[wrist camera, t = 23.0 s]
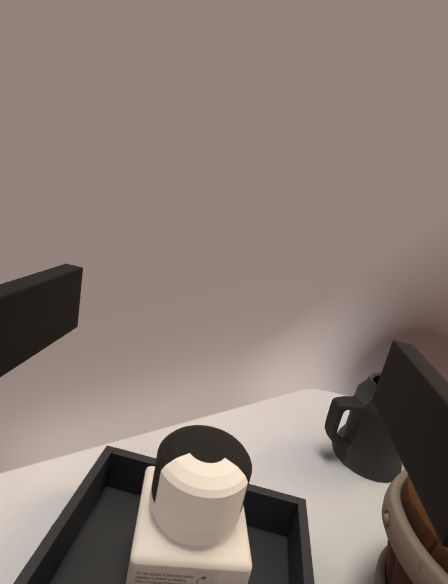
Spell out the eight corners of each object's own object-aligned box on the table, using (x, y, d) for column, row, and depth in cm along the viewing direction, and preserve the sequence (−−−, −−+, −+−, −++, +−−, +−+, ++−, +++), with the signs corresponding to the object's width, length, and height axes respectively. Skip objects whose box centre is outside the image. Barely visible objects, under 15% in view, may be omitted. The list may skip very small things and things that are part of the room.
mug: (372, 433, 55) (396, 367, 52) (416, 480, 46) (448, 406, 43) (302, 433, 51) (323, 363, 48) (336, 485, 43) (365, 404, 40)
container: (134, 535, 31) (156, 407, 28) (222, 543, 32) (254, 419, 29) (115, 645, 24) (141, 488, 20) (229, 650, 25) (274, 501, 21)
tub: (-19, 683, 21) (-18, 627, 20) (101, 484, 36) (106, 444, 35) (306, 792, 20) (331, 740, 19) (292, 538, 35) (305, 499, 34)
